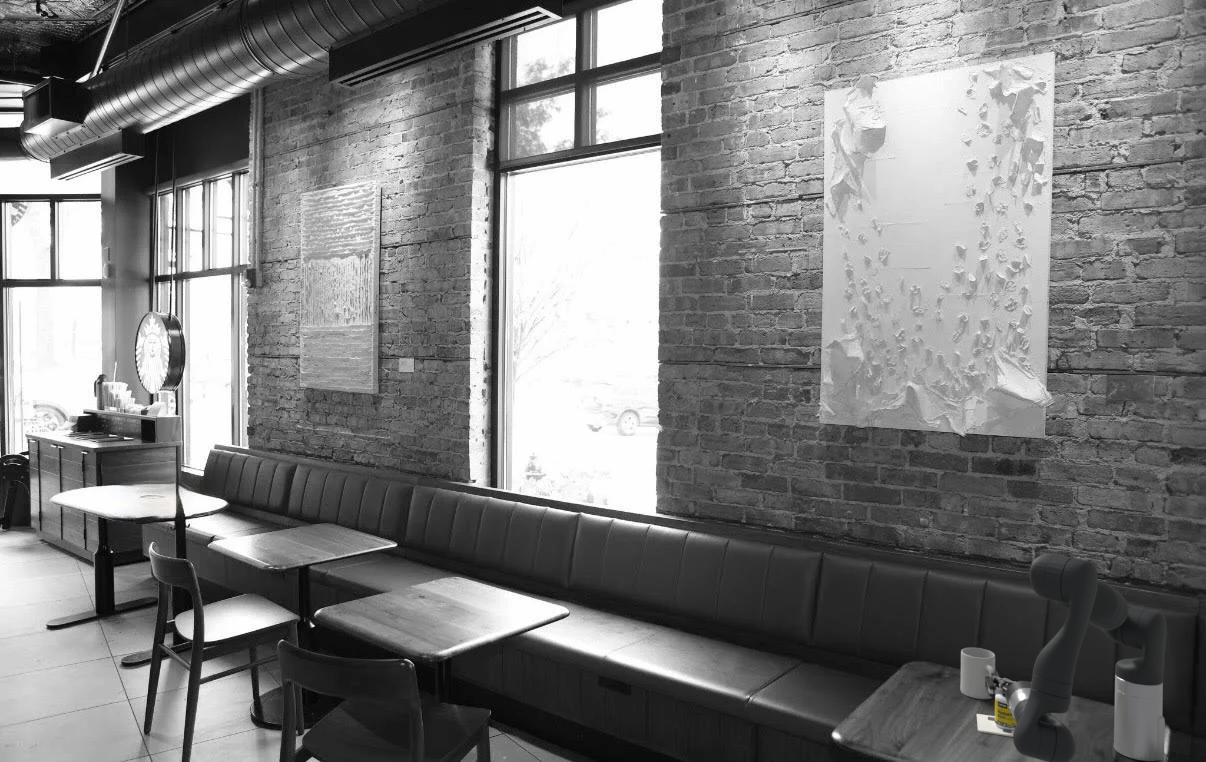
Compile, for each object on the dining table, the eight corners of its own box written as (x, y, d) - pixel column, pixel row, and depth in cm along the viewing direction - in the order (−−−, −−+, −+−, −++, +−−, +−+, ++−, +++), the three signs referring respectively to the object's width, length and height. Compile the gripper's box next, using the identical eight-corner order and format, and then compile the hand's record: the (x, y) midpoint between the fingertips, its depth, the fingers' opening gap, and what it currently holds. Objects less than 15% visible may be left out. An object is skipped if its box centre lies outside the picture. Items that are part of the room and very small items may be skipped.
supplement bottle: (994, 728, 205) (994, 688, 205) (995, 719, 210) (995, 680, 210) (1018, 732, 203) (1019, 692, 202) (1019, 723, 208) (1019, 684, 207)
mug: (954, 687, 231) (954, 648, 231) (983, 686, 232) (983, 646, 232) (978, 705, 220) (979, 663, 219) (1009, 703, 221) (1010, 662, 220)
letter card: (1034, 723, 209) (1034, 721, 209) (1038, 740, 199) (1038, 738, 199) (976, 715, 214) (976, 713, 214) (977, 731, 204) (977, 729, 204)
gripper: (1065, 692, 178) (1049, 663, 193) (991, 685, 182) (981, 657, 198) (1065, 726, 178) (1049, 695, 194) (991, 719, 182) (982, 689, 198)
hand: (1015, 676), depth 196 cm, fingers open, 8 cm apart
